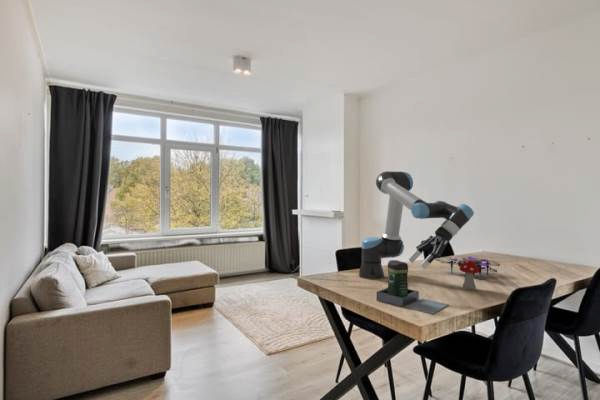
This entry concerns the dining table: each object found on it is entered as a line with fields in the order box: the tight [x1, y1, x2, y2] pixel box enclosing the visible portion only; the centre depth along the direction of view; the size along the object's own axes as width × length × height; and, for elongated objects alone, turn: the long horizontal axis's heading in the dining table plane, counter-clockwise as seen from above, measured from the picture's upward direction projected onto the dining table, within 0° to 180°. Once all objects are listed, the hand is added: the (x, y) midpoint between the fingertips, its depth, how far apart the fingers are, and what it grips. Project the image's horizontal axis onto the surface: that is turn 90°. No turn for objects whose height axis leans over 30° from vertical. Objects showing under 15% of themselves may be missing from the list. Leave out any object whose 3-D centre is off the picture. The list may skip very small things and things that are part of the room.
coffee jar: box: [387, 259, 409, 297], centre depth 156 cm, size 10×8×19 cm
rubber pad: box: [405, 298, 450, 315], centre depth 146 cm, size 12×16×1 cm
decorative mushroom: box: [459, 260, 479, 291], centre depth 174 cm, size 10×9×15 cm
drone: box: [434, 256, 501, 281], centre depth 205 cm, size 40×10×28 cm
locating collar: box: [376, 287, 420, 308], centre depth 156 cm, size 13×15×4 cm
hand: (416, 263), depth 155 cm, fingers open, 13 cm apart
